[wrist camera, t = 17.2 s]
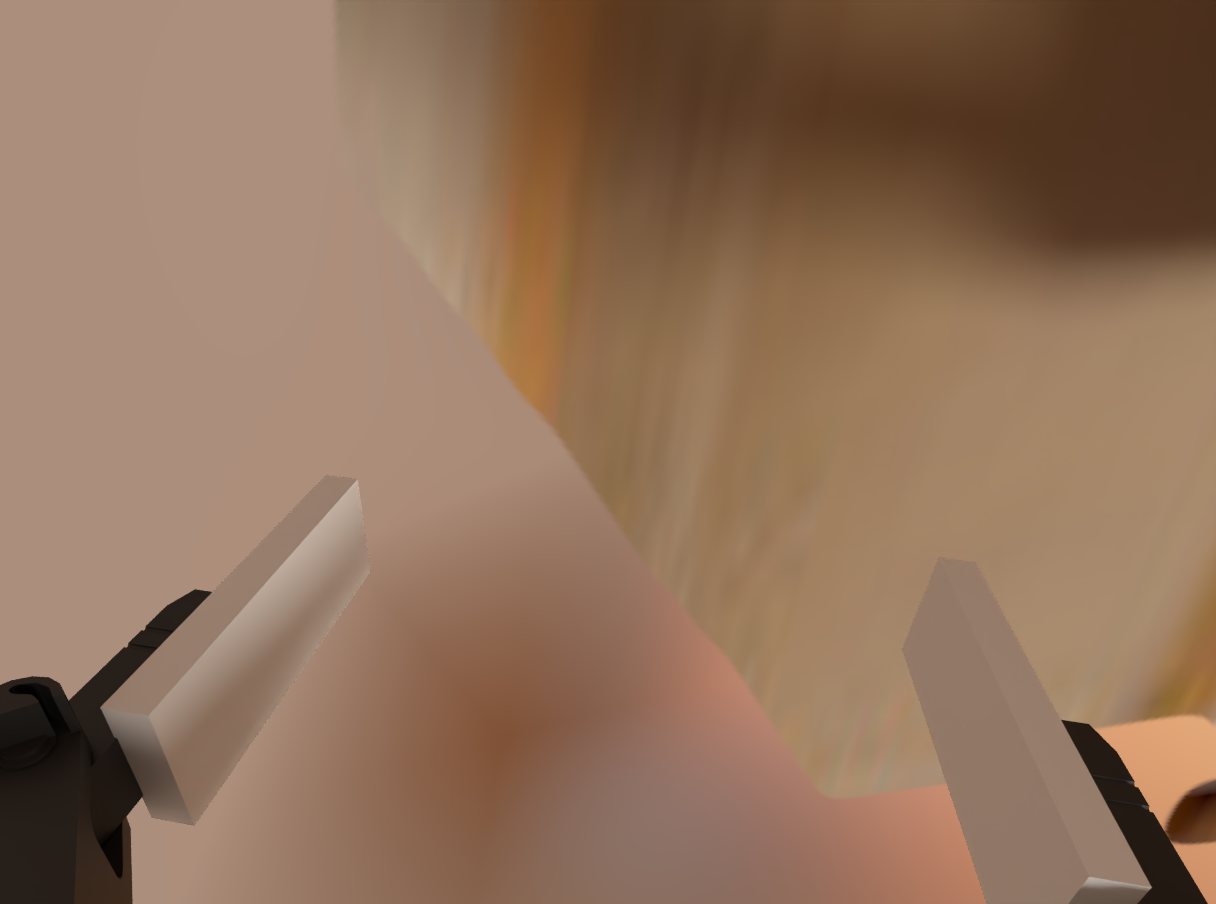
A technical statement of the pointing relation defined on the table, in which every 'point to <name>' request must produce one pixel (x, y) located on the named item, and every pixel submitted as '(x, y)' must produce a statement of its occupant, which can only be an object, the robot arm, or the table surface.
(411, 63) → the table surface
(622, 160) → the table surface
